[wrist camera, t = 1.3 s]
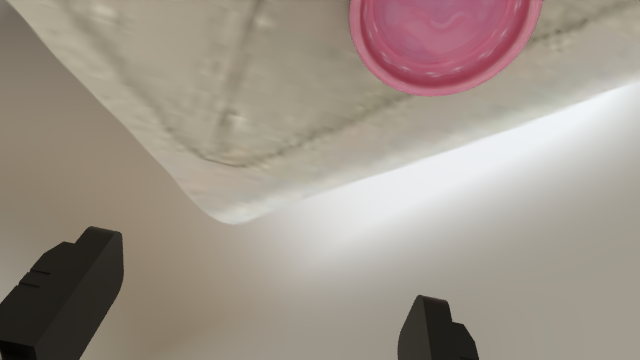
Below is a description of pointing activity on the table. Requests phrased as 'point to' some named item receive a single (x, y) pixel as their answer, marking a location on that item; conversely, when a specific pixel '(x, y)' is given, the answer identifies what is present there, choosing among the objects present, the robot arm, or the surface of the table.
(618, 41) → the table surface
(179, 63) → the table surface
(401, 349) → the robot arm
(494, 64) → the pink round bowl
